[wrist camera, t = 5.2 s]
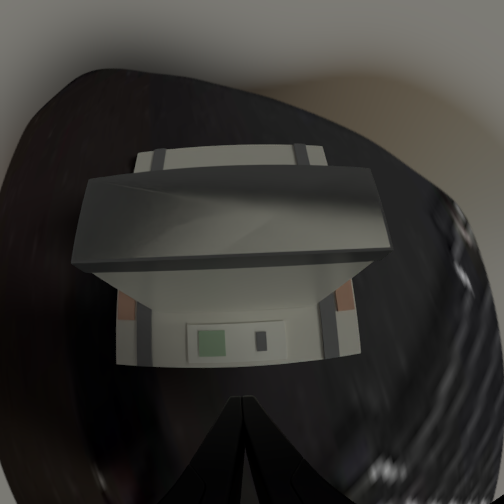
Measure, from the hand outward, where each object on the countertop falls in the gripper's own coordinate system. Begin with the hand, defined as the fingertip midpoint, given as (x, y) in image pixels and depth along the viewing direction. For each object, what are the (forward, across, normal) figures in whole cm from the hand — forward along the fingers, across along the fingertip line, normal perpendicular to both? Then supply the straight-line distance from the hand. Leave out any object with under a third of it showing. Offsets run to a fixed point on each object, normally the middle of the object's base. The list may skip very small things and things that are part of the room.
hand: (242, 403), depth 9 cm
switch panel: (+13, 0, +1) cm, 13 cm away
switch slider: (+10, 0, -1) cm, 10 cm away
